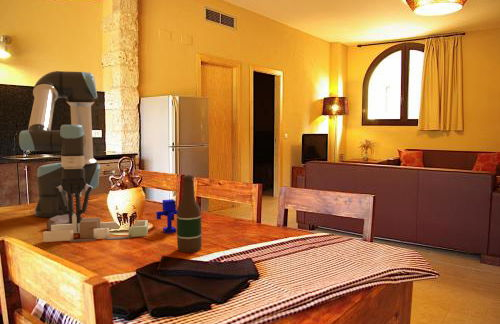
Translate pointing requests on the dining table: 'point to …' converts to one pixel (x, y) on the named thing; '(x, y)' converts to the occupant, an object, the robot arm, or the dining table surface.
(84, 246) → the dining table surface
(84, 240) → the grey thin bar
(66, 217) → the stone
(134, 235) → the lane
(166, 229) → the figurine
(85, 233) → the block
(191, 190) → the beer bottle
